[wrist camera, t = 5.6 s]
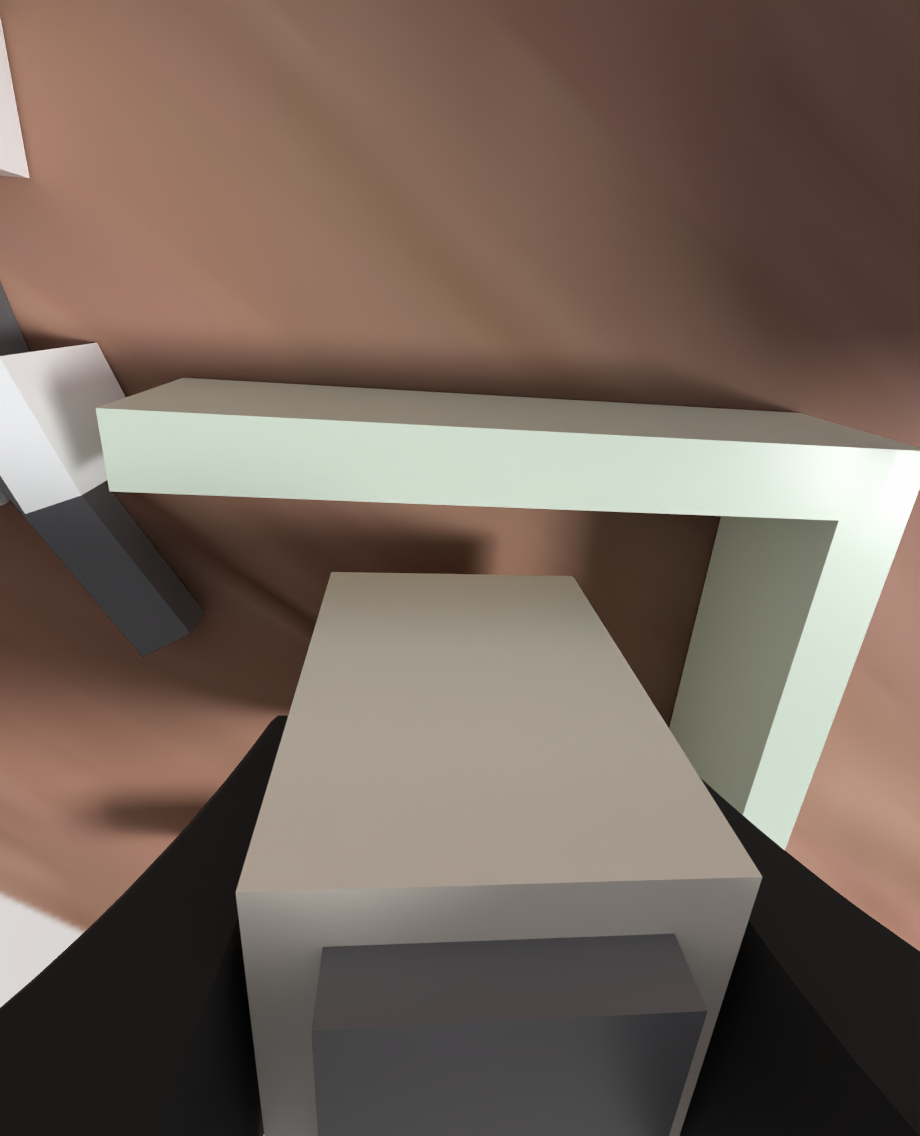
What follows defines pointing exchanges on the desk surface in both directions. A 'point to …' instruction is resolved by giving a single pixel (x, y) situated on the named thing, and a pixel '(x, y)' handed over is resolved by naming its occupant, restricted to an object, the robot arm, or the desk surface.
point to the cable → (109, 550)
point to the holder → (596, 483)
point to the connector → (482, 876)
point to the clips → (47, 384)
